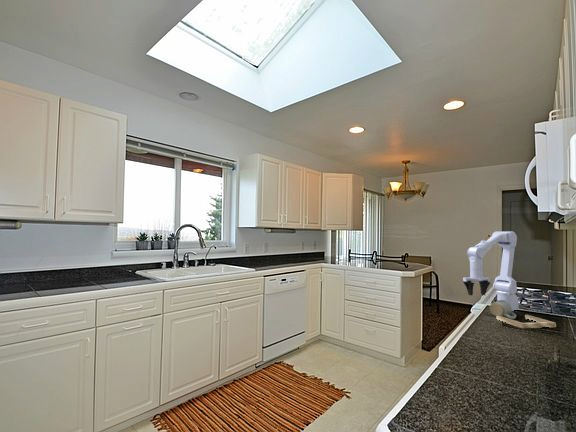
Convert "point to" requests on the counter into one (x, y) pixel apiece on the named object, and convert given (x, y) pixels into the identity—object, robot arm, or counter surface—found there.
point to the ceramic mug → (502, 309)
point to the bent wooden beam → (540, 323)
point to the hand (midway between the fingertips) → (476, 294)
